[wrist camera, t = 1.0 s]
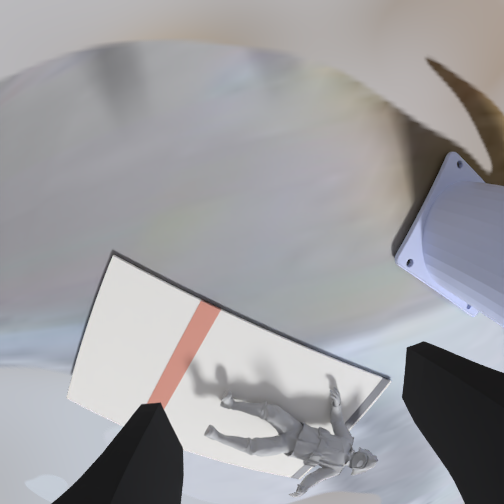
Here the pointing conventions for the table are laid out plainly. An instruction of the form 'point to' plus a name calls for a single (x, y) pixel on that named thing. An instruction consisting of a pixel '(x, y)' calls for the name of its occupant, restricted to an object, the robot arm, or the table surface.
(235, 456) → the mat
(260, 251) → the table surface
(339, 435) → the soldier figure
